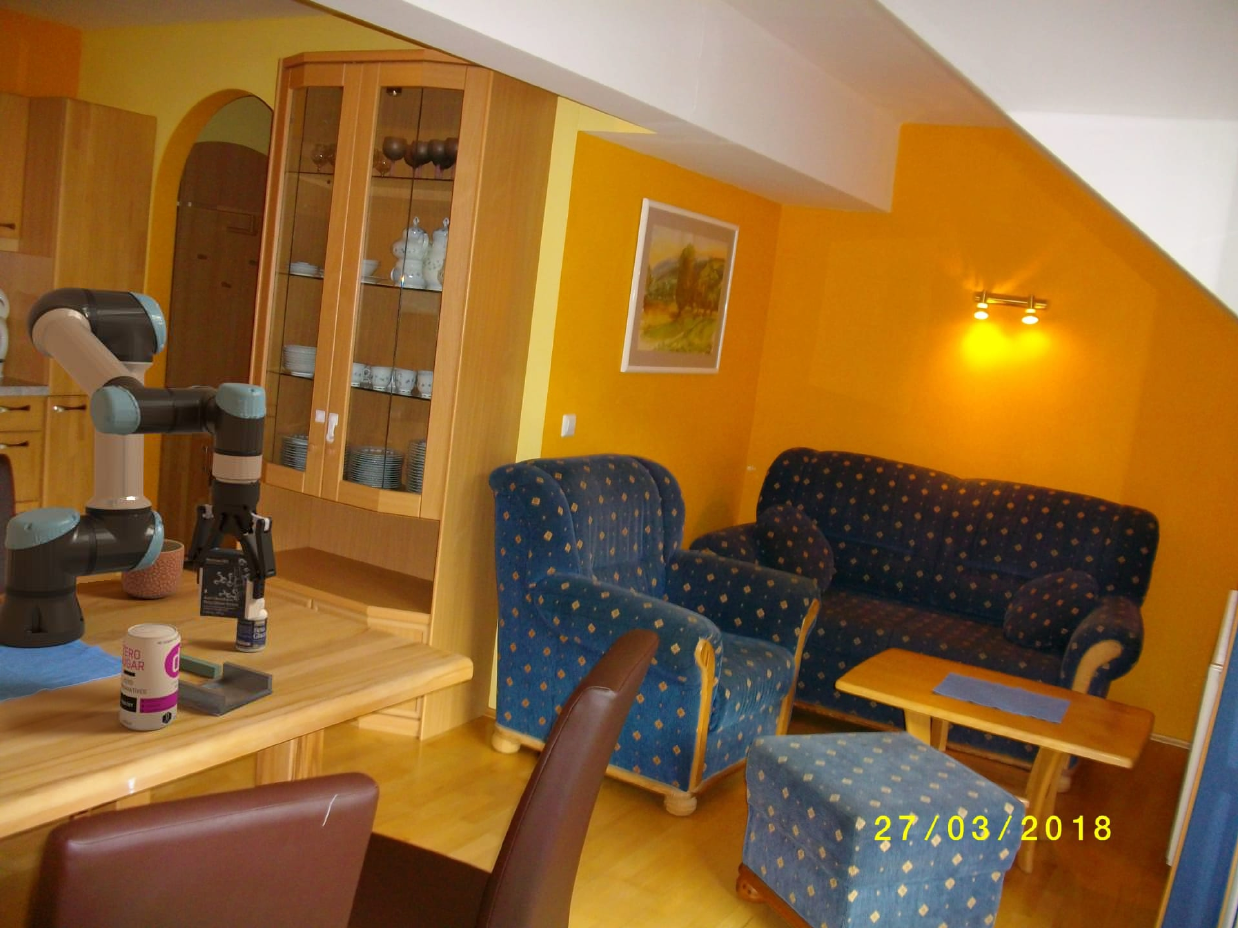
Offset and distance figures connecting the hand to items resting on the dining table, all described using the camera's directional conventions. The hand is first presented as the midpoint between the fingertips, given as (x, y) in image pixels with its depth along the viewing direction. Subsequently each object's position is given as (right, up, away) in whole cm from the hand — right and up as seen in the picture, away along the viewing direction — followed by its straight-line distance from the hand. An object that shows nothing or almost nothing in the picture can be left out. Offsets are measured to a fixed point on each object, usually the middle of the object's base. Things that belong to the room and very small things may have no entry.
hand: (228, 610), depth 174 cm
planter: (-36, -4, +51) cm, 63 cm away
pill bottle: (-6, -11, +26) cm, 29 cm away
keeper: (-2, -15, +2) cm, 15 cm away
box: (0, -1, 0) cm, 1 cm away
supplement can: (-9, -16, -10) cm, 21 cm away
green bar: (-12, -12, +13) cm, 22 cm away
